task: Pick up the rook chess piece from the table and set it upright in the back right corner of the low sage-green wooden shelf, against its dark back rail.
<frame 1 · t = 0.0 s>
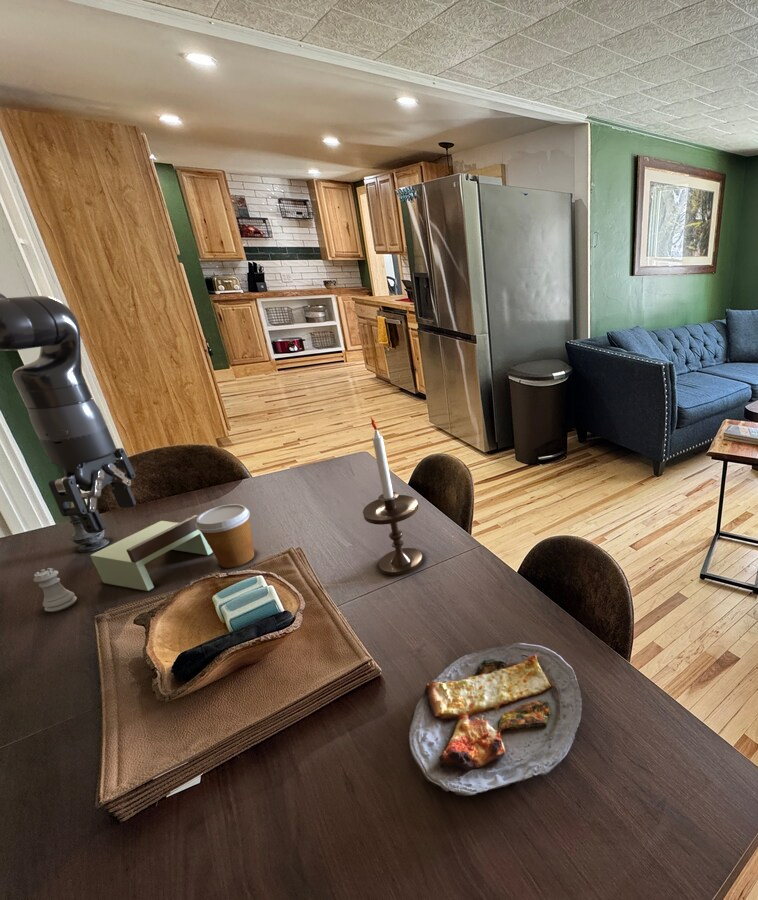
hand: (113, 518, 81), 22 cm above the table, tool pointing down, fingers open, 8 cm apart
shelf: (160, 566, 105), on the table
grey upright piece: (94, 546, 112), on the table
candlestick: (401, 563, 106), on the table
food plate: (498, 717, 71), on the table
disposable coffee cup: (237, 560, 107), on the table
rook chess piece: (62, 606, 93), on the table
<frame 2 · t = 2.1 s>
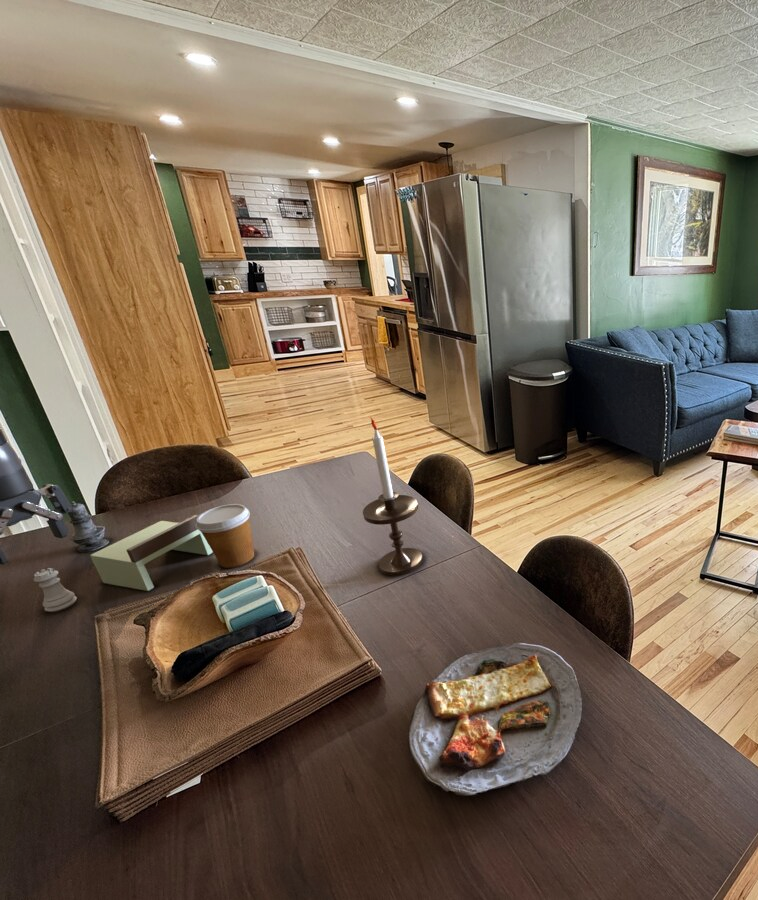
hand: (33, 549, 88), 13 cm above the table, tool pointing down, fingers open, 8 cm apart
nothing on the table moved.
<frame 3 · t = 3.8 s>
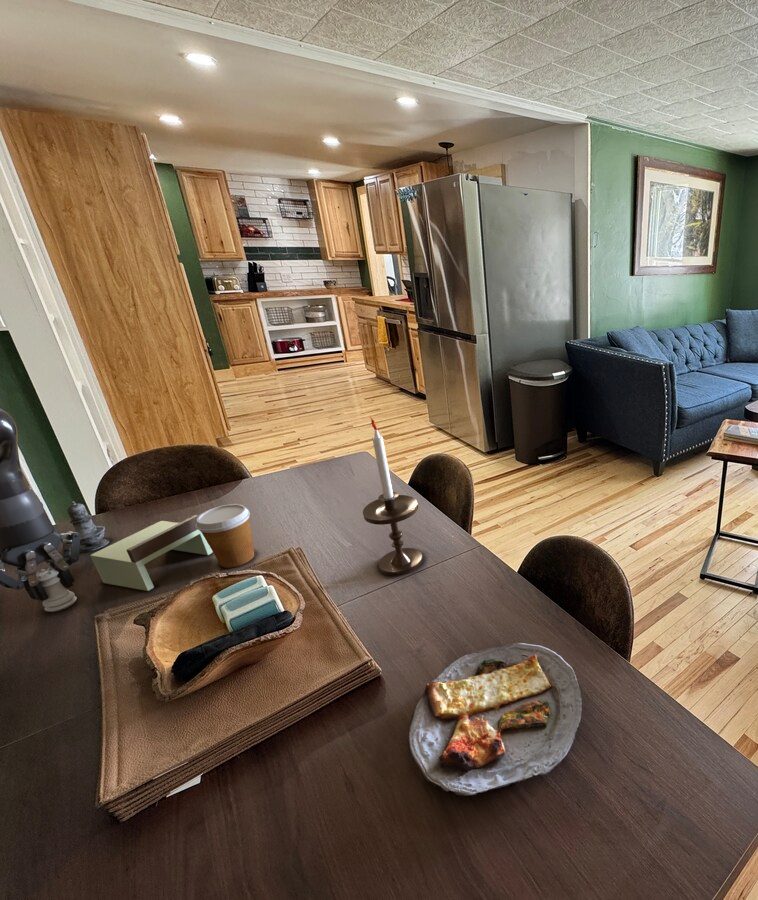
hand: (54, 592, 92), 3 cm above the table, tool pointing down, fingers closed on rook chess piece, 3 cm apart
rook chess piece: (62, 606, 93), on the table, touching gripper
everything else where it was.
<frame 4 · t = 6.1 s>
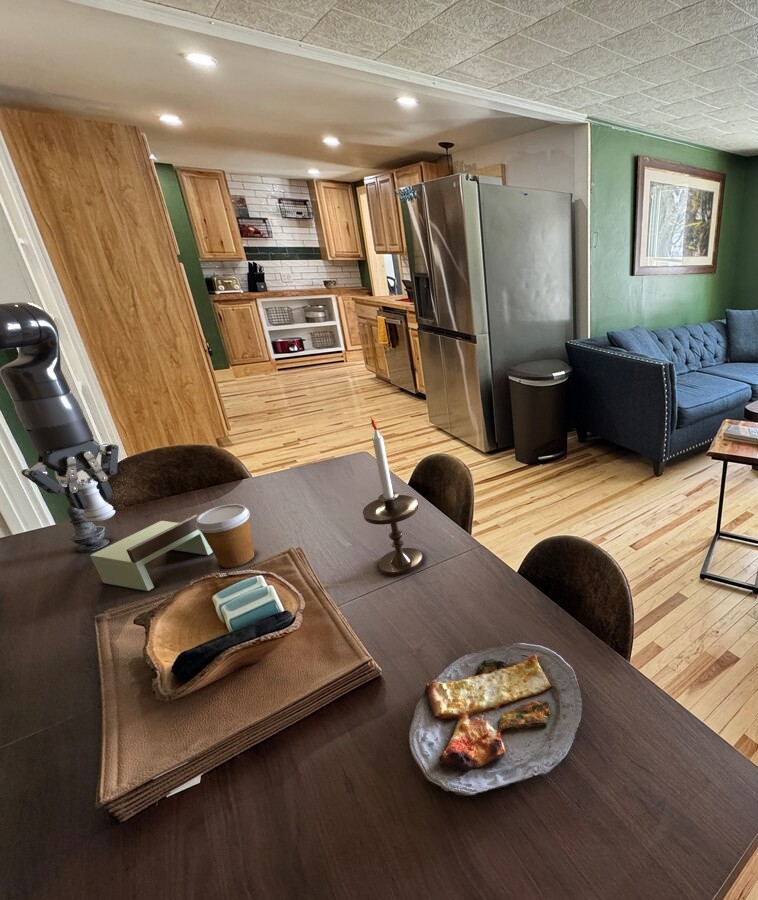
hand: (94, 503, 91), 20 cm above the table, tool pointing down, fingers closed on rook chess piece, 3 cm apart
rook chess piece: (101, 518, 93), point 16 cm above the table, touching gripper
everything else where it was.
when the fingers open (10 cm above the table, at t = 8.8 s): rook chess piece stays where it is, resting on shelf.
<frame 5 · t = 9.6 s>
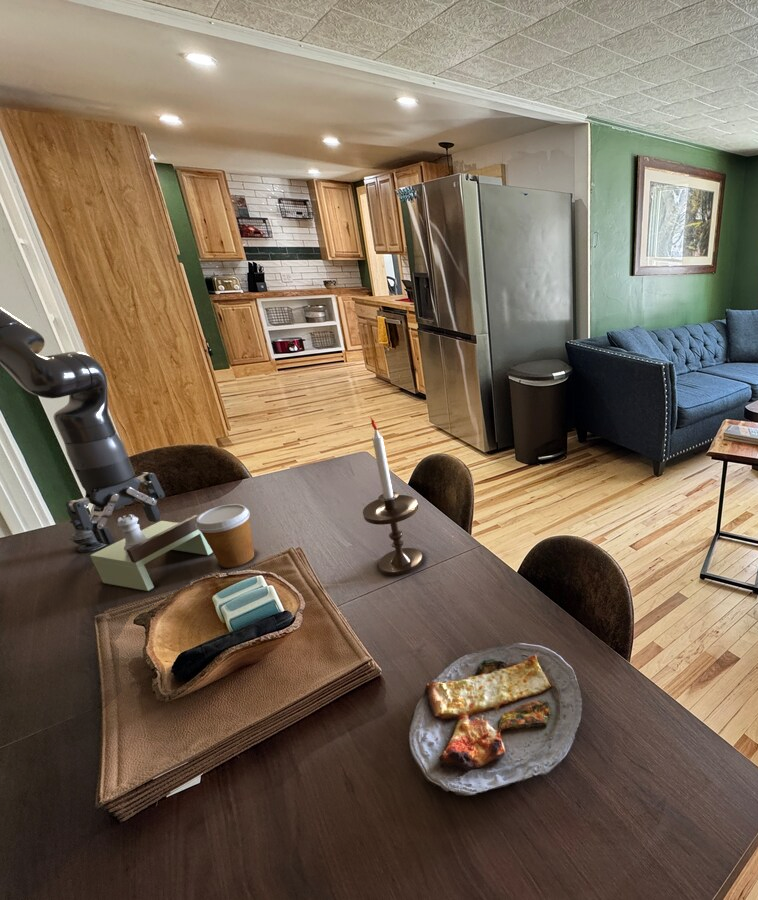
hand: (132, 531, 96), 12 cm above the table, tool pointing down, fingers open, 8 cm apart
rook chess piece: (140, 551, 98), point 7 cm above the table, touching shelf
everything else where it was.
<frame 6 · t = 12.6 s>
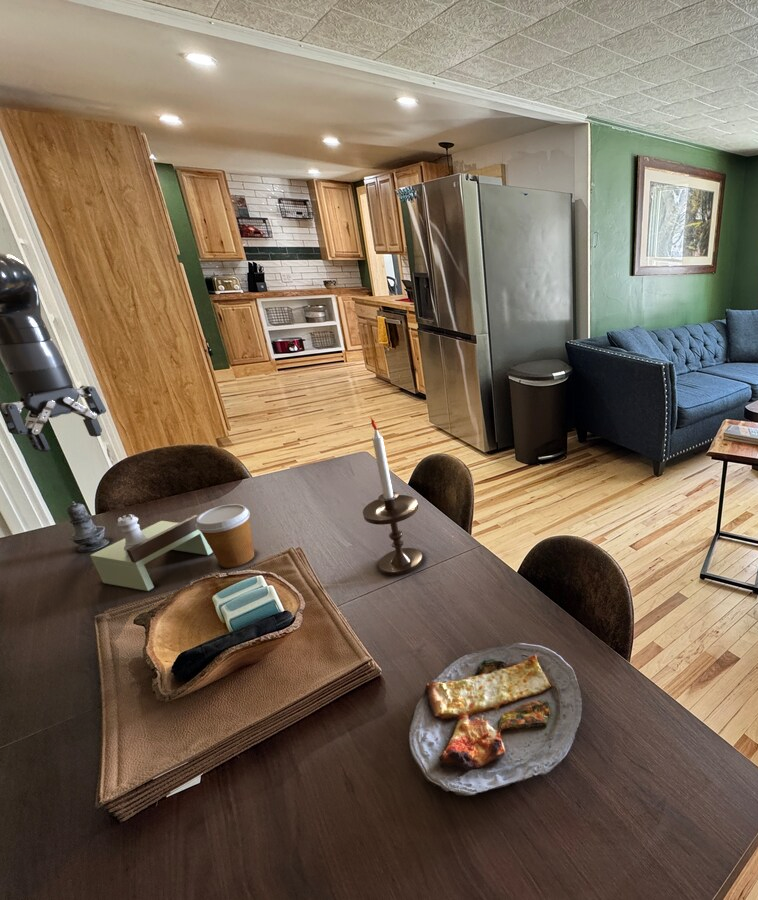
hand: (71, 443, 97), 28 cm above the table, tool pointing down, fingers open, 8 cm apart
nothing on the table moved.
at the end: rook chess piece 0.3 cm from the target spot on the shelf, point 6.8 cm above the shelf's base; rook chess piece tilted 0°; the gripper is holding nothing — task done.
